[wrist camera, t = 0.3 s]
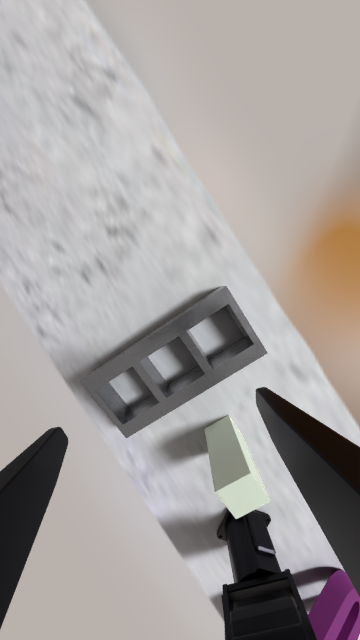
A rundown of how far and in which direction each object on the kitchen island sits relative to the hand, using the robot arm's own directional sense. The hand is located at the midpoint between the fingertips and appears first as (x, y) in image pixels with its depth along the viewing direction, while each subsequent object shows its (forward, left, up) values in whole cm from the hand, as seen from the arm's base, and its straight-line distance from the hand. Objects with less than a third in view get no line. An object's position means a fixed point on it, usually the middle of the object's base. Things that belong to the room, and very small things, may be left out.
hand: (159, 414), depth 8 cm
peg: (-11, -12, -15) cm, 22 cm away
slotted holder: (-3, -1, -15) cm, 15 cm away
